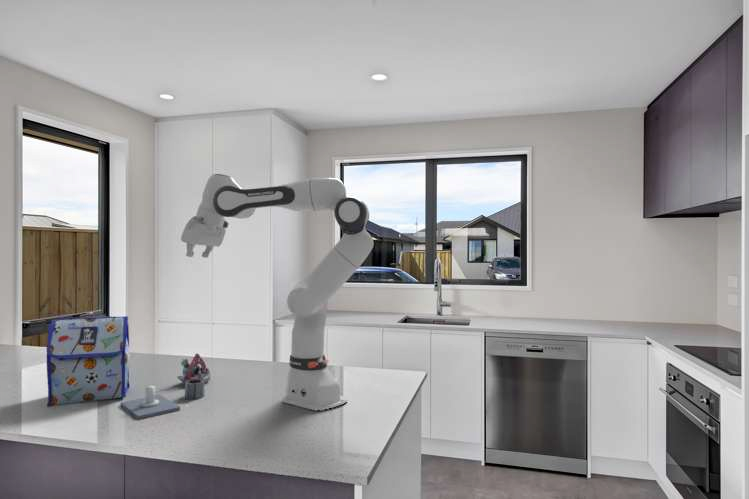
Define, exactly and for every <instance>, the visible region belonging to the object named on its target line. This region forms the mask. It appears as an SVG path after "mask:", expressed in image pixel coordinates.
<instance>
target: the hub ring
mask: <svg viewBox="0 0 749 499" xmlns="http://www.w3.org/2000/svg"><path fill="white" fill-rule="evenodd" d="M205 384H206V383H205V381H204V380H202V379H193V380H188V381H186V382H185V384H184V399H186V400H198V399H202V398H204V397H205V386H206V385H205Z"/></svg>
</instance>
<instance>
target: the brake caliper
mask: <svg viewBox="0 0 749 499" xmlns="http://www.w3.org/2000/svg"><path fill="white" fill-rule="evenodd" d="M180 365H181V366H183V367H182V370H181V371H182V375H179V376H177V379H178V381H180V382H182V383H183V384H184V385H185V382H186V381H188V380H193V379H202V380H204V381H205V384H207V383H208V382H210V381H211V372H210V368H209V367H207V365H206V363H205V361H204V359H203V358H202V356H200V354H199V353H198V352H196V353H195V355H194V357H193V358H192V361H191V362H190V363H189V359H187V358H182V361H181V362H180Z"/></svg>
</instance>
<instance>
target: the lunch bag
mask: <svg viewBox="0 0 749 499" xmlns="http://www.w3.org/2000/svg"><path fill="white" fill-rule="evenodd" d="M47 327H48V328H47V333H48V334H47V335H48V338H47V343H46V376H47V377H46V378H47V389H48V390H47V407H49V406H52V405H53V406H58V405H68V404H75V403H76V404H77V403H83V402H95V401H101V400H102V401H103V400H112V399H120V398H126V396H127V395H126V393H127V392H128V390H129V389H130V380H129V379H130V373H129V372H130V370H129V369H130V359H131V358H130V356H131V355H130V336H129V331H130V330H129V316H127V315H126V316H108V315H107V316H106V315H105V316H85V317H59V319H58V318H57V319H52V320H51V323H50V324H48V326H47Z"/></svg>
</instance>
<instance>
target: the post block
mask: <svg viewBox="0 0 749 499" xmlns="http://www.w3.org/2000/svg"><path fill="white" fill-rule="evenodd" d="M120 407H121V408H123V409H124V410H125V411H127V412H128V413H129V414H130V415H132V416H133V417H134V418H136V419H137V420H142V419H147V418H152V417H154V416H160V415H163V414H168V413H169V414H170V413H173V412H177V411H180V410H181V406H180V405H178V404H177V403H175V402H173V401H171V400H170V399H168V398H167V397H165V396H163V395H161V394H157V395H156V386H155V385H147V386H146V387H145V397H142V398H136V399H132V400H128V401H127V400H126V401H122V402H120Z"/></svg>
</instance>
